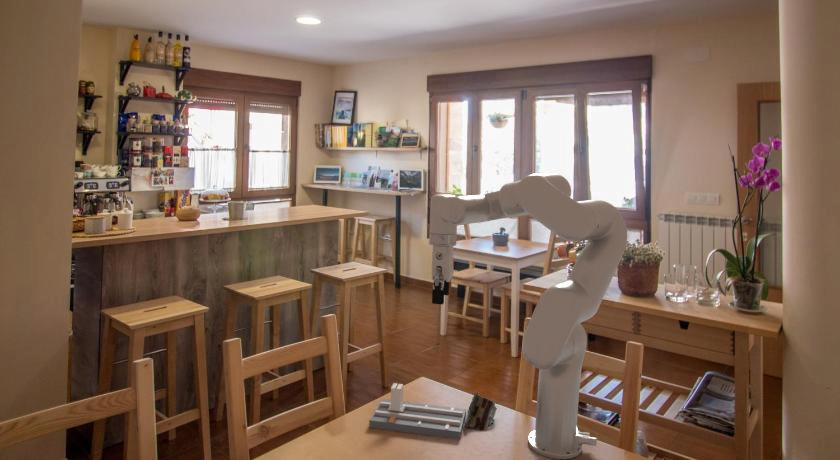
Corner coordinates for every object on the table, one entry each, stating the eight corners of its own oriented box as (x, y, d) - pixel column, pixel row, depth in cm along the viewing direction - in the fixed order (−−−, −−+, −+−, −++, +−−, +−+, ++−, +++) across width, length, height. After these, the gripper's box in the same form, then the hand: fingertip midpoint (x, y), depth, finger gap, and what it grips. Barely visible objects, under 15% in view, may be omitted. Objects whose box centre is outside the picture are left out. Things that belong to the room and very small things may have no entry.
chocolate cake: (489, 438, 133) (504, 393, 139) (463, 427, 134) (478, 383, 140) (484, 446, 141) (497, 403, 147) (458, 435, 142) (473, 393, 148)
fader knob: (405, 408, 141) (406, 384, 140) (402, 414, 138) (403, 389, 137) (390, 406, 141) (391, 382, 140) (387, 412, 139) (388, 387, 138)
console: (465, 416, 142) (466, 406, 142) (460, 439, 131) (460, 428, 130) (381, 406, 147) (382, 396, 146) (369, 427, 135) (369, 417, 135)
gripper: (451, 244, 139) (449, 308, 142) (460, 235, 156) (457, 292, 159) (423, 243, 141) (421, 306, 143) (434, 233, 158) (432, 290, 160)
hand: (440, 299), depth 151 cm, fingers open, 9 cm apart
